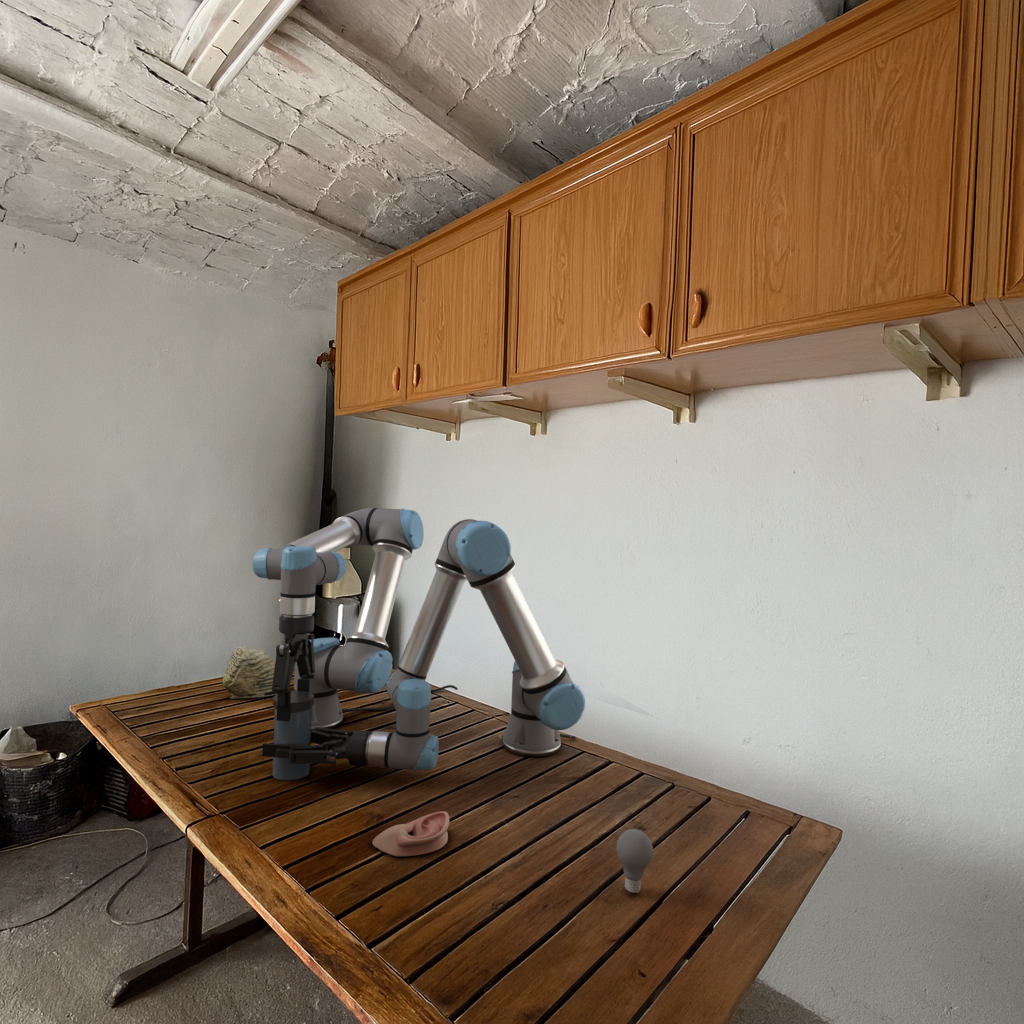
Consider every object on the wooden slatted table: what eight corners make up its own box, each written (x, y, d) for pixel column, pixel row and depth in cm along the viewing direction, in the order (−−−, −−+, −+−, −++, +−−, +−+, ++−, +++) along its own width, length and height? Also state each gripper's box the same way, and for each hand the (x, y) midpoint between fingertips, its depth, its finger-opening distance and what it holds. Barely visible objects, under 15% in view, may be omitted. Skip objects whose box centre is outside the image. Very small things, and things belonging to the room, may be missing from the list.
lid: (317, 709, 143) (317, 700, 143) (276, 713, 138) (276, 704, 138) (309, 697, 150) (309, 689, 150) (270, 701, 146) (270, 693, 146)
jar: (284, 783, 139) (287, 707, 139) (265, 772, 144) (267, 699, 144) (316, 772, 145) (319, 699, 145) (296, 762, 150) (299, 691, 150)
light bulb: (610, 879, 108) (613, 822, 108) (644, 879, 109) (647, 822, 109) (619, 902, 102) (622, 840, 102) (655, 901, 103) (658, 840, 103)
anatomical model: (365, 829, 114) (390, 800, 125) (364, 851, 114) (389, 820, 125) (436, 840, 111) (455, 810, 122) (435, 863, 111) (454, 830, 122)
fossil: (218, 695, 195) (220, 647, 195) (278, 685, 208) (279, 640, 207) (228, 703, 189) (230, 653, 188) (289, 692, 201) (290, 645, 201)
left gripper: (303, 606, 155) (299, 697, 156) (256, 622, 134) (252, 728, 134) (332, 608, 154) (328, 700, 155) (289, 624, 133) (285, 731, 133)
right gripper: (354, 785, 133) (249, 778, 134) (381, 747, 154) (289, 741, 155) (356, 750, 133) (250, 743, 134) (382, 716, 154) (291, 710, 155)
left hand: (293, 713), depth 144 cm, fingers closed on lid, 9 cm apart
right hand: (271, 742), depth 145 cm, fingers closed on jar, 8 cm apart
